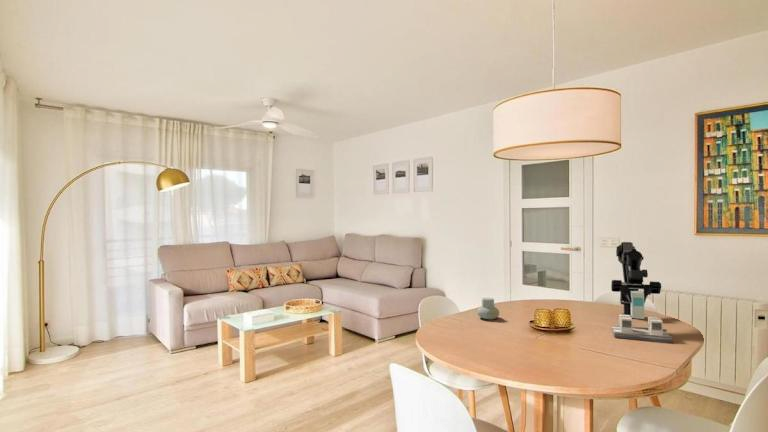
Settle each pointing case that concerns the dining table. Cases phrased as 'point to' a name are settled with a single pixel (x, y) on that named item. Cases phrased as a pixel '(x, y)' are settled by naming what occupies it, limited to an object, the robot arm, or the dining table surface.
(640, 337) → the rail board
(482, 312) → the air freshener
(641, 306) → the block
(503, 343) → the dining table surface
